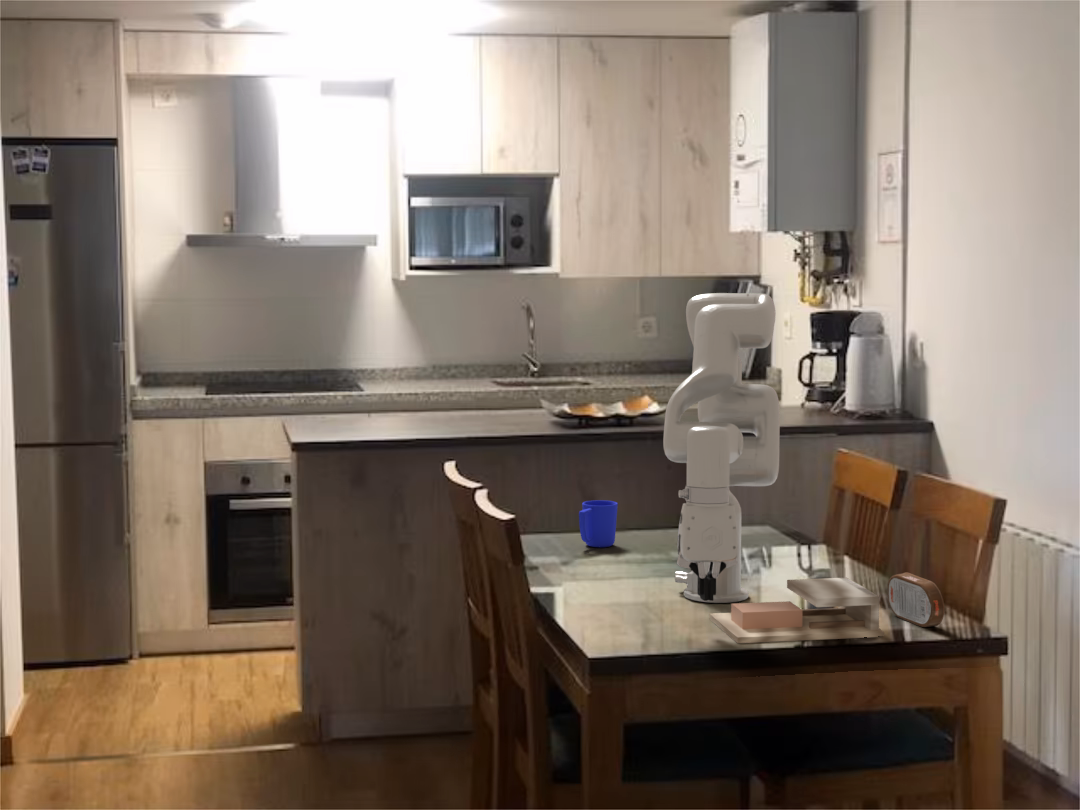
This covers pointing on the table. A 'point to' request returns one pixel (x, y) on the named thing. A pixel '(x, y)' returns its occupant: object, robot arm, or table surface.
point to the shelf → (818, 614)
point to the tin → (915, 600)
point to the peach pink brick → (766, 615)
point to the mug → (598, 522)
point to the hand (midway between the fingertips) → (706, 599)
